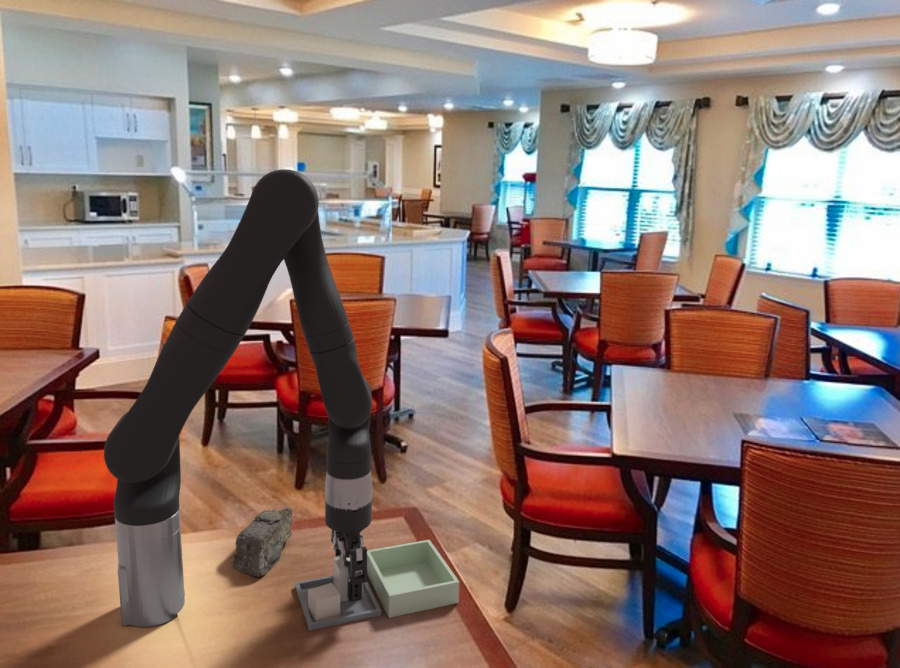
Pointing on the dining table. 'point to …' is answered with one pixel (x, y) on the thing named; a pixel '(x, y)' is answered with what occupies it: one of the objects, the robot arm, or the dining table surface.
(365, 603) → the slate tray
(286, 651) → the dining table surface
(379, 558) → the green bin
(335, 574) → the off-white rectangular block
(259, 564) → the rock
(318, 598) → the smooth off-white cube
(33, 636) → the dining table surface
